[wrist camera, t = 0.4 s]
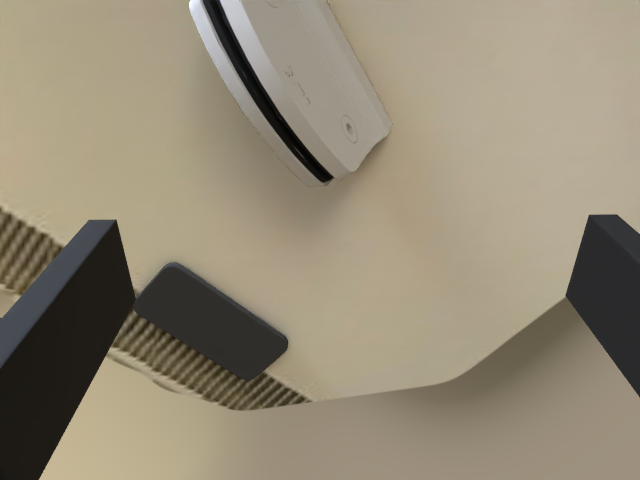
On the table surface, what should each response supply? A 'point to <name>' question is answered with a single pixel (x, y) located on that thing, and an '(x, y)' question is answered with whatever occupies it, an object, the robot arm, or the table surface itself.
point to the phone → (210, 322)
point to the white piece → (295, 82)
